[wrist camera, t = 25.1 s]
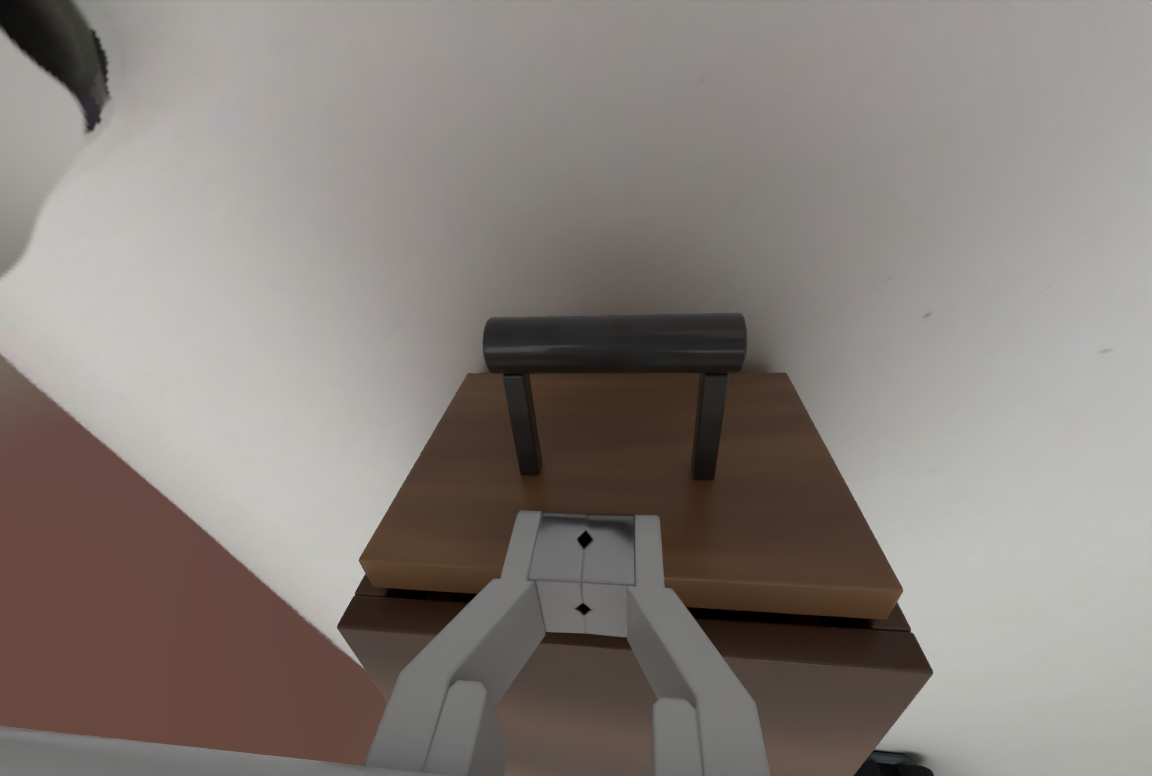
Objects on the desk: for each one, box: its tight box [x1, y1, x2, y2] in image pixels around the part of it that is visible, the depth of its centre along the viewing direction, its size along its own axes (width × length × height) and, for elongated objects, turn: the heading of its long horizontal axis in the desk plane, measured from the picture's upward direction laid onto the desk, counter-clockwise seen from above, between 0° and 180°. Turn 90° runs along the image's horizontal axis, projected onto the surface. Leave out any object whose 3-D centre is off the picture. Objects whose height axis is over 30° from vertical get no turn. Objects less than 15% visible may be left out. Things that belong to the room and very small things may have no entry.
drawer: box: [359, 313, 903, 627], centre depth 17 cm, size 20×13×9 cm, turn 4°
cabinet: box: [337, 574, 933, 776], centre depth 19 cm, size 16×14×11 cm
